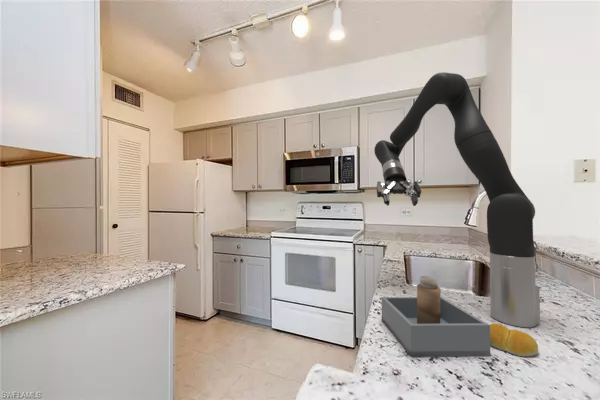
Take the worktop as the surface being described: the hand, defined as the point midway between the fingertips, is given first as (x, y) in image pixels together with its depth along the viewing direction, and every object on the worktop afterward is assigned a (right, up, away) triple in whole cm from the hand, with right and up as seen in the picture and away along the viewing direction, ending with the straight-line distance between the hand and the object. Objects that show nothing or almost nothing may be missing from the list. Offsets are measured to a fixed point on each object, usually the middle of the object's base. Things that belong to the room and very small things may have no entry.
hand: (401, 203), depth 84 cm
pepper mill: (-4, -29, -26) cm, 39 cm away
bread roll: (+11, -30, -30) cm, 44 cm away
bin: (-4, -30, -26) cm, 40 cm away
